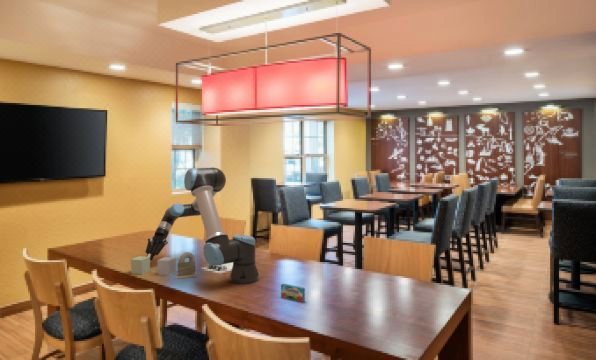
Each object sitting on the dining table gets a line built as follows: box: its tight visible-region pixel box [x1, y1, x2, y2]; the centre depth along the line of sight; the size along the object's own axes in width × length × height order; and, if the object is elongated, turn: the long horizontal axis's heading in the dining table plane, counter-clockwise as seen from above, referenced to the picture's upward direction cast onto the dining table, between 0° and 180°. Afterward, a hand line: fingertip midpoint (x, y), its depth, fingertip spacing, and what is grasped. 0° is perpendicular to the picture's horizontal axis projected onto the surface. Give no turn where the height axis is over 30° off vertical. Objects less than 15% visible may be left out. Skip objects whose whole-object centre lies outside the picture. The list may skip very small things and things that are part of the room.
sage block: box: [130, 255, 151, 275], centre depth 228 cm, size 7×7×8 cm
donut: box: [178, 251, 196, 263], centre depth 234 cm, size 10×4×10 cm, turn 134°
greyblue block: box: [157, 256, 177, 276], centre depth 227 cm, size 7×7×8 cm
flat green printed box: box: [280, 283, 306, 303], centre depth 186 cm, size 12×2×6 cm, turn 57°
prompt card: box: [176, 260, 198, 280], centre depth 220 cm, size 4×10×8 cm, turn 109°
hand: (145, 264), depth 233 cm, fingers closed
